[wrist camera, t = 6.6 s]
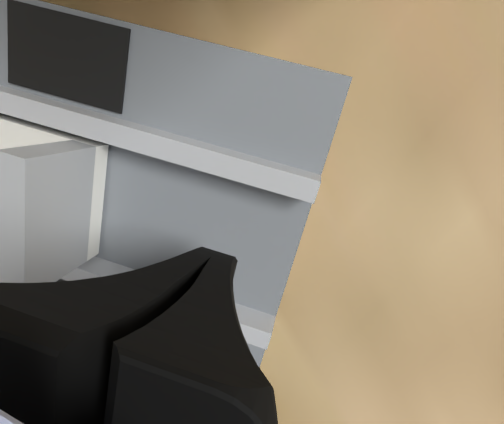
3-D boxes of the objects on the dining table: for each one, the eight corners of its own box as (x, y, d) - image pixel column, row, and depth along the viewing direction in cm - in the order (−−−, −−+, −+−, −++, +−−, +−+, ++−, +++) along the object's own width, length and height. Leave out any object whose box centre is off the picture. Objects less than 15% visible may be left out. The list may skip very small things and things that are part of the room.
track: (257, 369, 17) (247, 410, 15) (-176, 216, 20) (-240, 230, 18) (349, 80, 12) (356, 73, 10) (-237, -65, 15) (-335, -94, 13)
